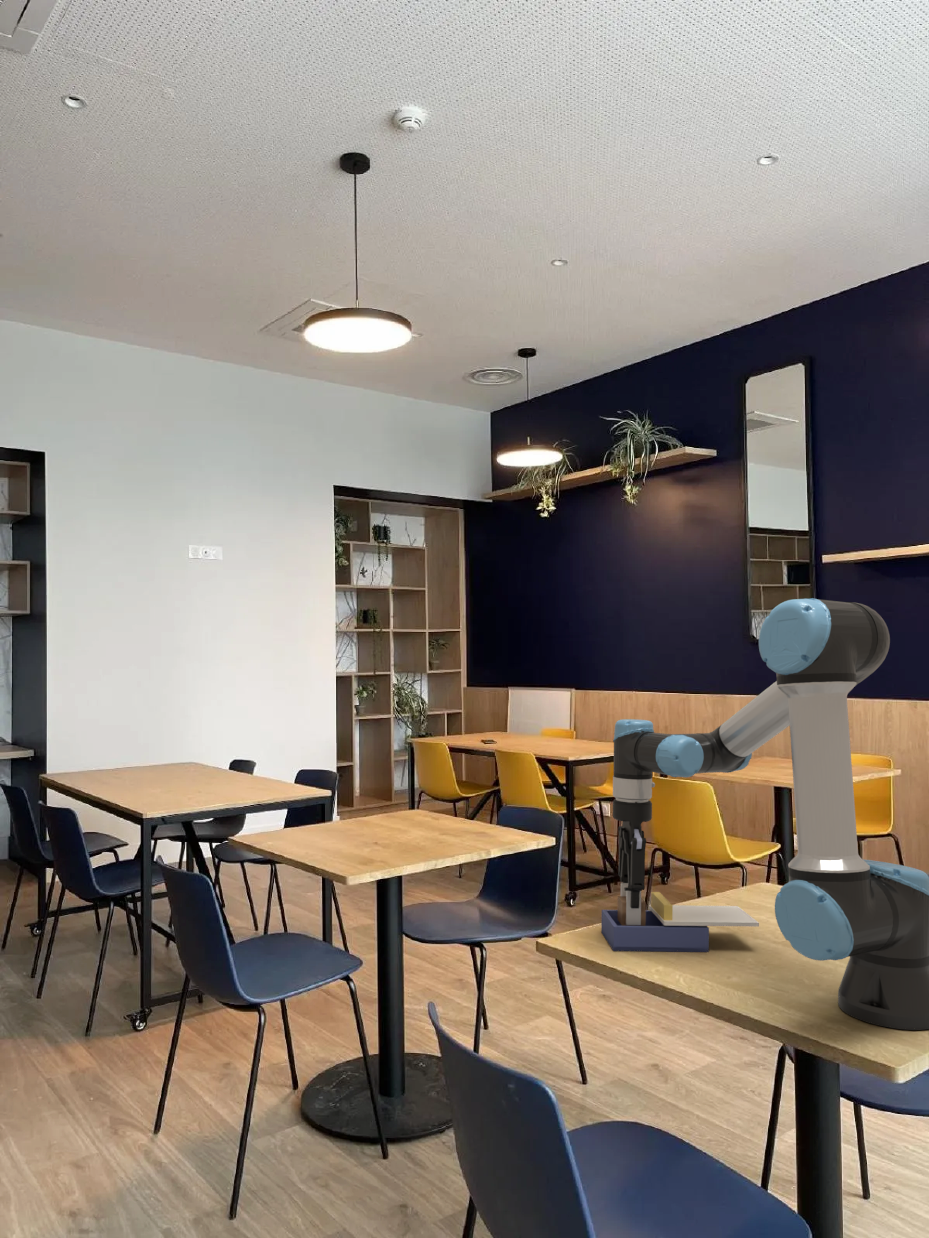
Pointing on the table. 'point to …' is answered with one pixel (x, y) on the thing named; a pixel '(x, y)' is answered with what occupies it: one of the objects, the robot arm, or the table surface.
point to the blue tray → (653, 935)
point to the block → (622, 911)
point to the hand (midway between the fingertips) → (630, 920)
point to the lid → (698, 914)
